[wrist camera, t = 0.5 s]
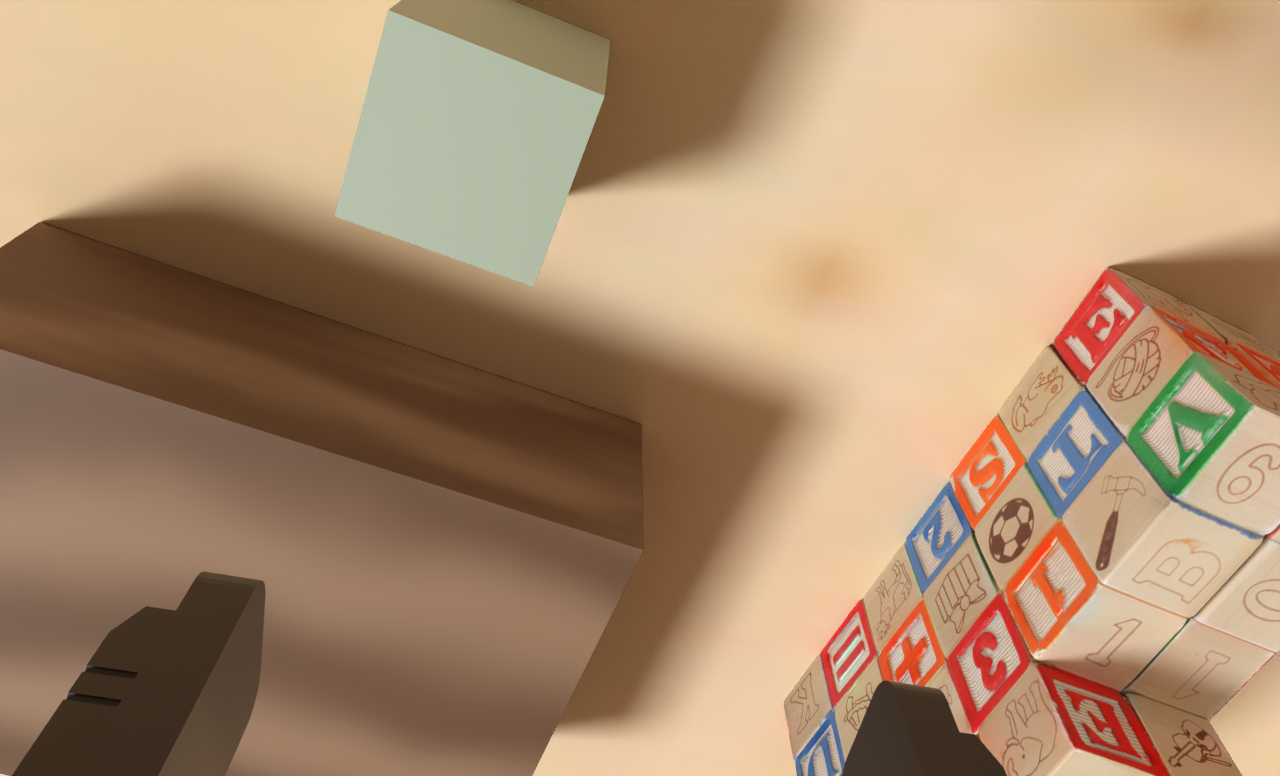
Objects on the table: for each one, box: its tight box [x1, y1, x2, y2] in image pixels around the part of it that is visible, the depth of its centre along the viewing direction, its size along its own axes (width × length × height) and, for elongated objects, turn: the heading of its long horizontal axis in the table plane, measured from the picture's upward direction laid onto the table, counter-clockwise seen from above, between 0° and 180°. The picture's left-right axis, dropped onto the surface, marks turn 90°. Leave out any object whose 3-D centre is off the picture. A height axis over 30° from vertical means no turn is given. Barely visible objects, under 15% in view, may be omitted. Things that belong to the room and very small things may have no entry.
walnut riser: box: [0, 222, 644, 776], centre depth 34 cm, size 16×20×7 cm
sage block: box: [334, 0, 610, 287], centre depth 27 cm, size 5×5×7 cm
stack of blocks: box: [784, 268, 1280, 776], centre depth 32 cm, size 21×6×12 cm, turn 155°
